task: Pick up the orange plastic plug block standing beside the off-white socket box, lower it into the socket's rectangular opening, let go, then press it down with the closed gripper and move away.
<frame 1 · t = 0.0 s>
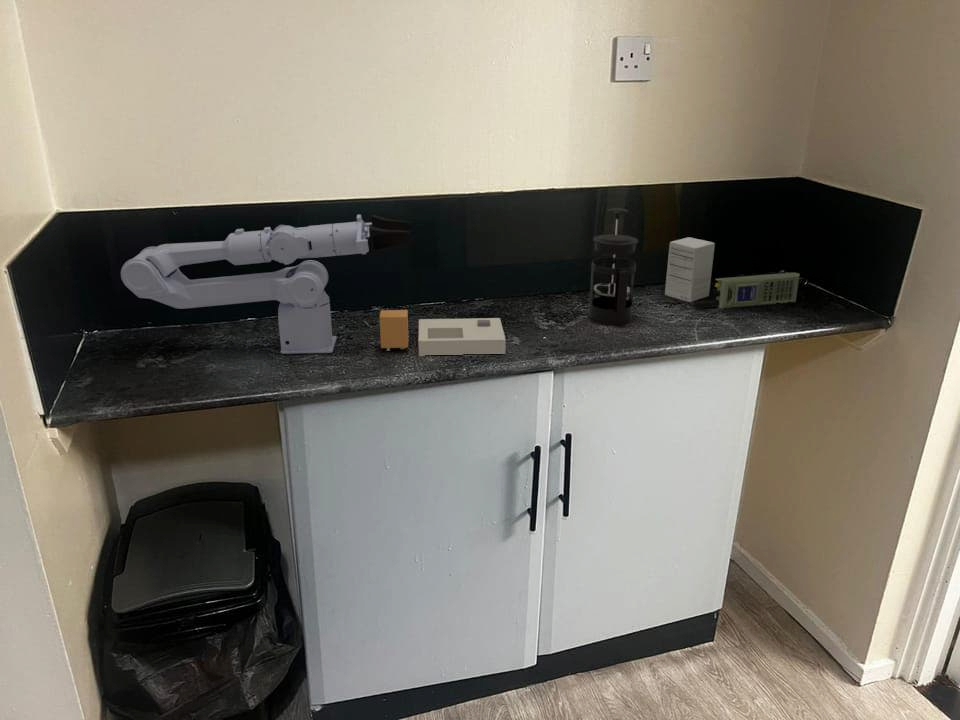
hand: (410, 232, 140), 22 cm above the worktop, tool horizontal, fingers open, 7 cm apart
plug: (395, 348, 146), on the worktop
french press: (610, 319, 163), on the worktop
supplement box: (686, 296, 178), on the worktop
socket: (460, 343, 149), on the worktop
handheld radio: (744, 306, 172), on the worktop
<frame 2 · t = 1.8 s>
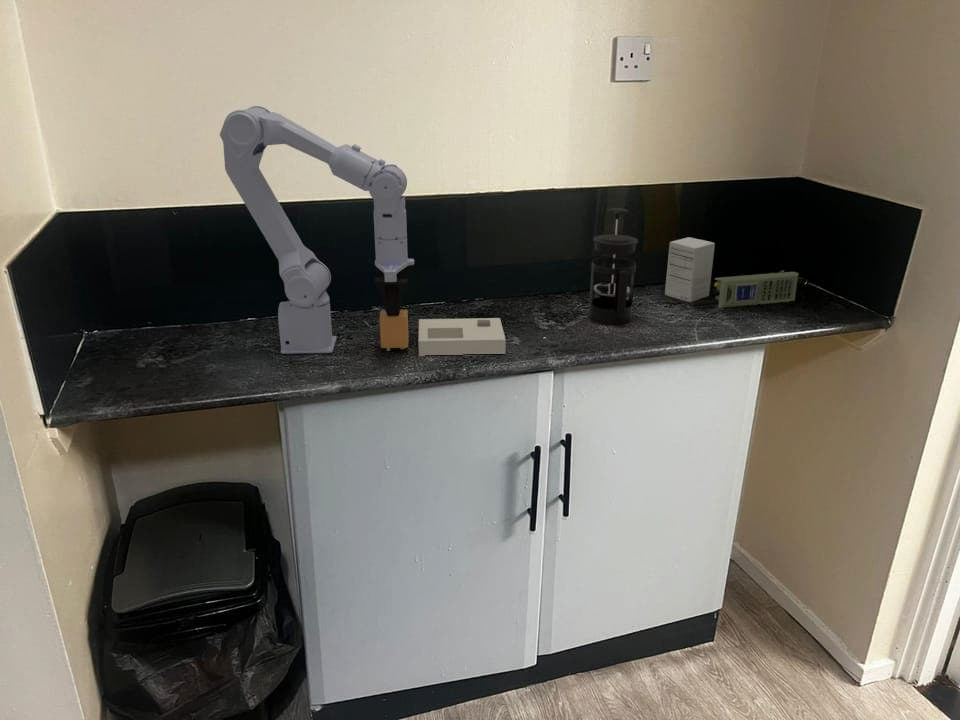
hand: (393, 308, 143), 8 cm above the worktop, tool pointing down, fingers open, 7 cm apart
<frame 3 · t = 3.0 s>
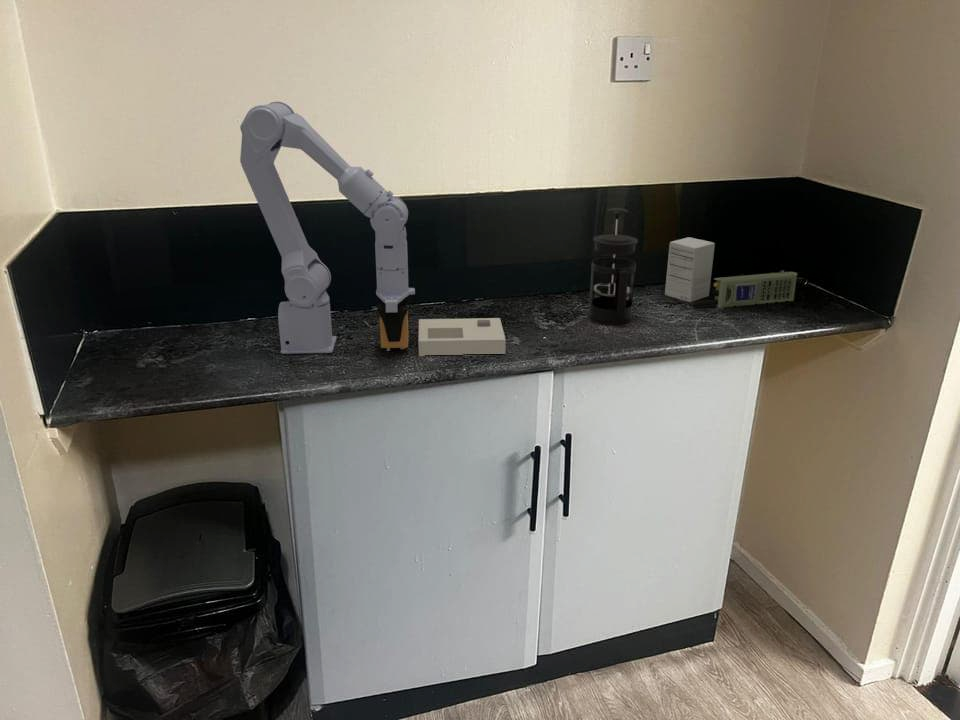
hand: (394, 336, 145), 2 cm above the worktop, tool pointing down, fingers closed on plug, 4 cm apart
plug: (395, 348, 146), on the worktop, touching gripper
everything else where it was.
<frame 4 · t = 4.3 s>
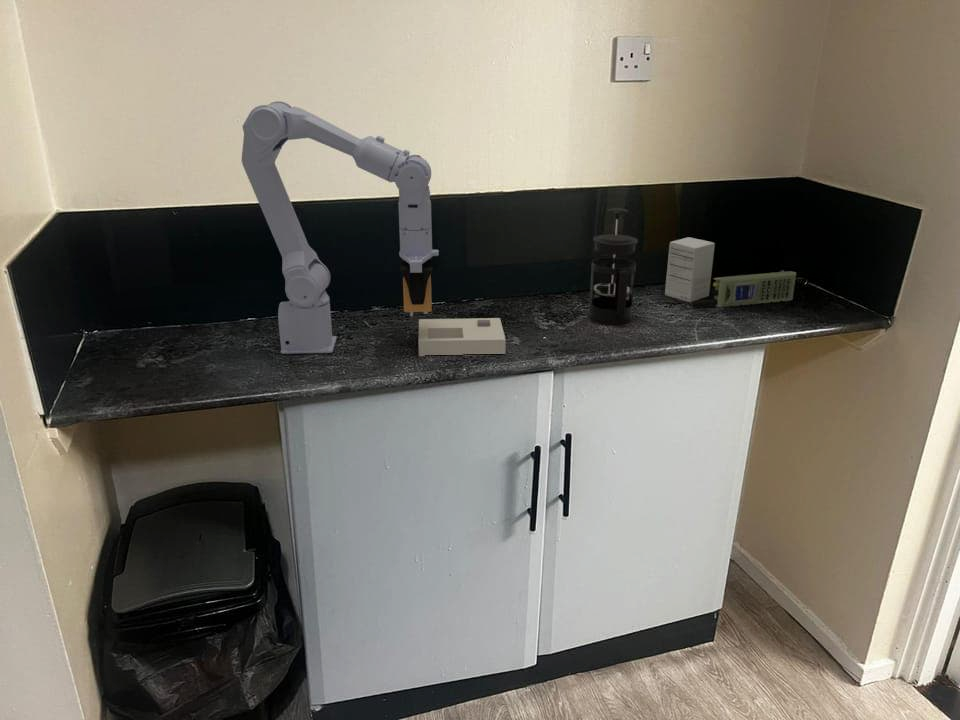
hand: (417, 300, 143), 10 cm above the worktop, tool pointing down, fingers closed on plug, 4 cm apart
plug: (418, 313, 144), point 7 cm above the worktop, touching gripper
everything else where it was.
when the fingers open (4 cm above the worktop, at t = 6.1 s): plug drops 1 cm, resting in socket.
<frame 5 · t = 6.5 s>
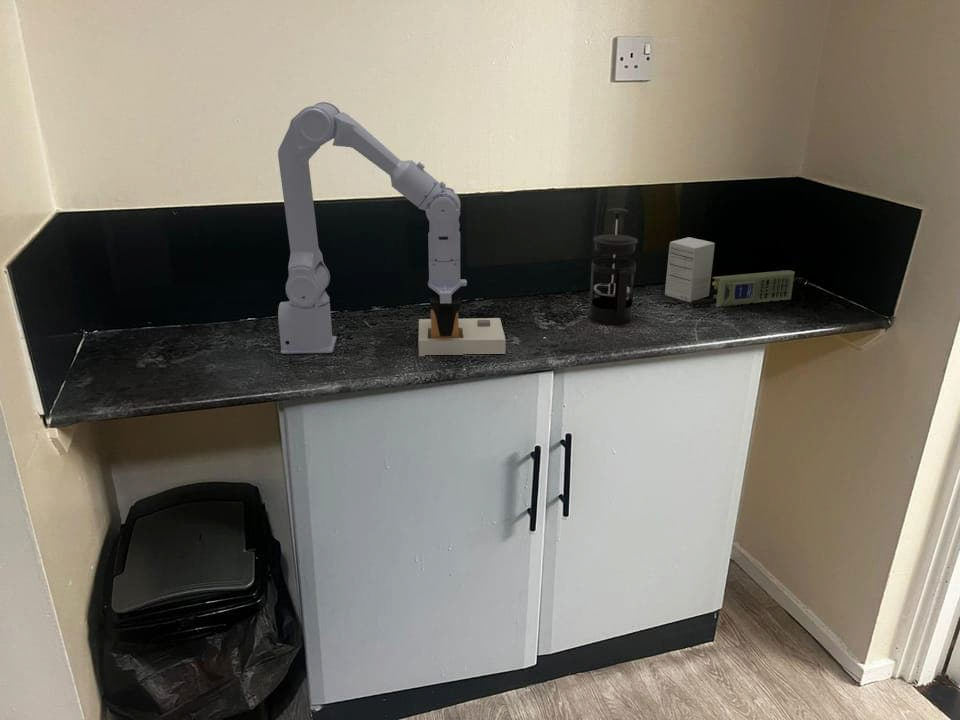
hand: (445, 328, 145), 4 cm above the worktop, tool pointing down, fingers open, 7 cm apart
plug: (444, 347, 147), resting in socket
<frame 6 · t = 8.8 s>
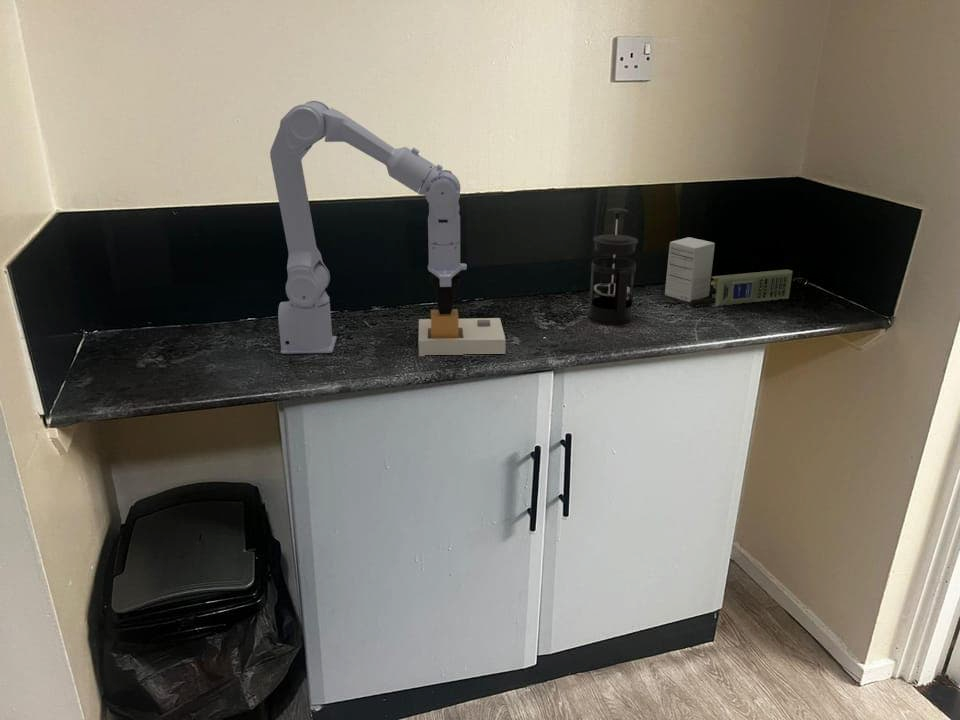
hand: (445, 313, 144), 7 cm above the worktop, tool pointing down, fingers closed, pressing on plug
plug: (444, 348, 147), resting in socket, touching gripper
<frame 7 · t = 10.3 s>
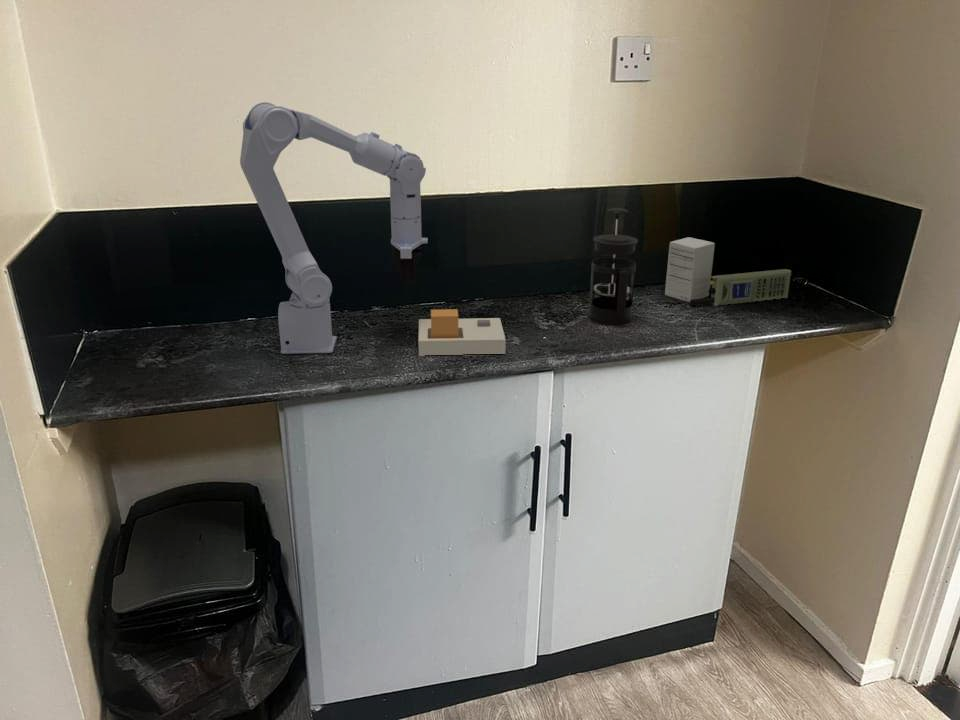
hand: (408, 285, 152), 9 cm above the worktop, tool pointing down, fingers closed
plug: (444, 347, 147), resting in socket
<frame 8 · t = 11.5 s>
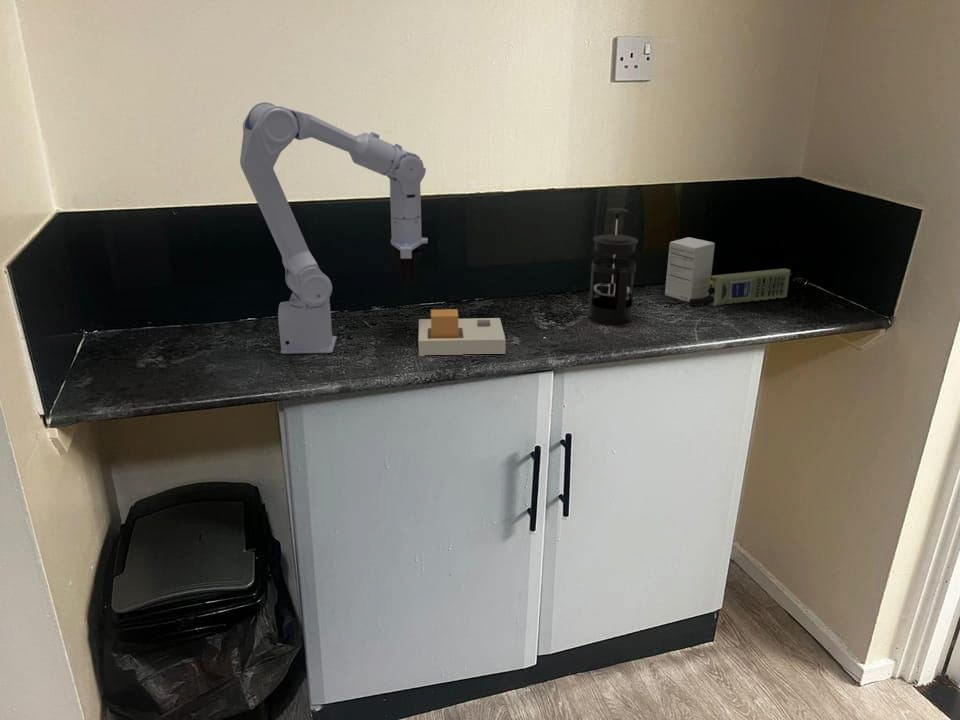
hand: (408, 285, 152), 9 cm above the worktop, tool pointing down, fingers closed
at the end: plug 0.1 cm from the target spot on the socket, point 0.0 cm above the socket's base; plug tilted 0°; the gripper is holding nothing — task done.
